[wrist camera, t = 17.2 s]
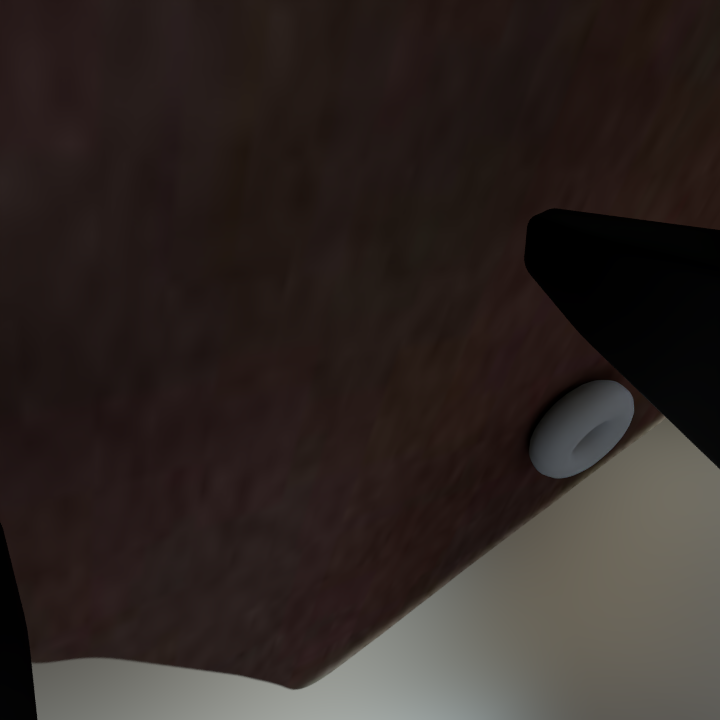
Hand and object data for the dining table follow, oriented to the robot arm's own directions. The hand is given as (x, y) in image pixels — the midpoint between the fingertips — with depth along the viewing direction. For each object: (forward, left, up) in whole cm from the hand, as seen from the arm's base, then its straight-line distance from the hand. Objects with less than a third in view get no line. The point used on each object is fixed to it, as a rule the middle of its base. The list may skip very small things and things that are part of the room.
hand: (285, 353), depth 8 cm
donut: (+23, -33, -13) cm, 42 cm away
